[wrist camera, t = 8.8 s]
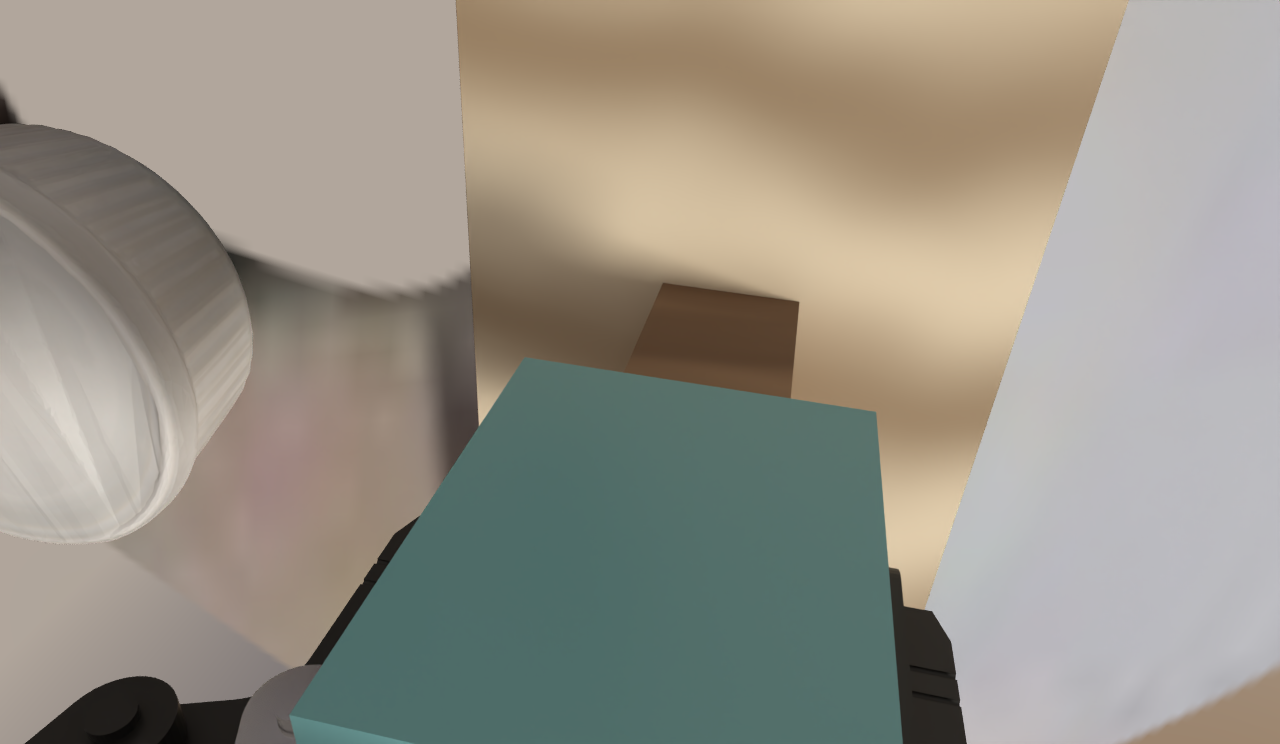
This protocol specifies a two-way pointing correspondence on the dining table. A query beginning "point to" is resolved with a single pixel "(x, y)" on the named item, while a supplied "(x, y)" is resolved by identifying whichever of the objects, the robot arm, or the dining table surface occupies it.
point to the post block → (779, 204)
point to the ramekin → (106, 338)
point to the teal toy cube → (631, 579)
